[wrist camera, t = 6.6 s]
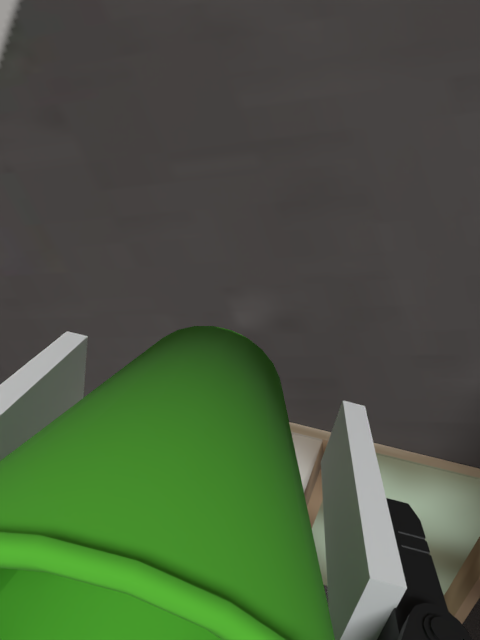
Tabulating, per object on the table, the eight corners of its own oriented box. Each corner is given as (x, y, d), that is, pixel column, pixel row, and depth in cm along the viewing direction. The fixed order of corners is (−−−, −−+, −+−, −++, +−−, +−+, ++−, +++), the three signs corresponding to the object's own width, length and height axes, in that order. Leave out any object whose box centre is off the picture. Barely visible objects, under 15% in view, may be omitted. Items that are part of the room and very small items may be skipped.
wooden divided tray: (145, 386, 30) (130, 412, 27) (513, 476, 29) (535, 511, 27) (127, 521, 35) (112, 553, 32) (439, 600, 34) (451, 640, 32)
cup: (358, 463, 17) (441, 949, 7) (146, 493, 19) (-36, 899, 9) (302, 238, 14) (300, 500, 4) (58, 303, 16) (-370, 584, 6)
